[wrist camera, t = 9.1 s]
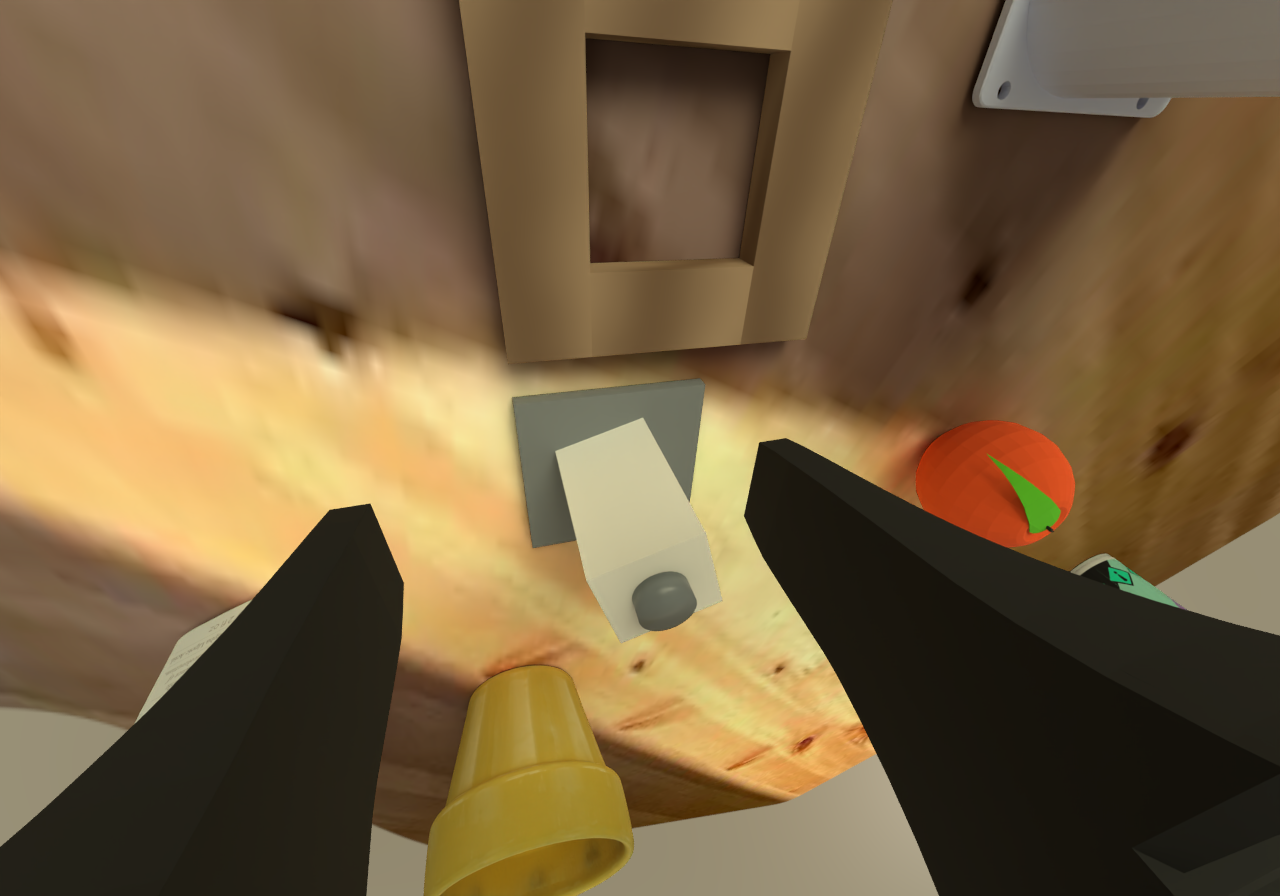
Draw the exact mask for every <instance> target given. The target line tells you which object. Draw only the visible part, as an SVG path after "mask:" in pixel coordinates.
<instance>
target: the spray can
mask: <svg viewBox="0 0 1280 896" xmlns="http://www.w3.org/2000/svg"><path fill="white" fill-rule="evenodd" d="M1071 573H1074V574H1077V575H1080V576H1083V577H1086V578H1088V579H1091V580H1094V581H1097V582H1100V583H1103V584H1105V585H1108V586H1111V587H1114V588H1117V589H1120V590H1123V591H1126V592H1130V593H1133V594H1136V595H1139V596H1142V597H1145V598H1148V599H1151V600H1154V601H1158V602H1161V603H1164V604H1168V605H1171V606H1174V607H1178V608H1181V609H1185V608H1184V607H1182V606H1181V605H1180V604H1178V603H1177V602H1175V601H1174V600H1172V599H1171V598H1170V597H1168V596H1167V595H1165V594H1164V593H1163V592H1161V591H1160V590H1158V589H1157V588H1156V587H1154V586H1153V585H1151V584H1150V583H1148V582H1147V581H1146V580H1144V579H1143V578H1141V577H1140V576H1139V575H1137V574H1136V573H1134V572H1133V571H1131V570H1130V569H1129V568H1127V567H1126V566H1124V565H1123V564H1122V563H1120V562H1119V561H1117V560H1116V559H1115V558H1113V557H1111V556H1110V555H1108V554H1100V555H1097V556H1094V557H1092V558H1090V559H1088V560H1086V561H1084V562H1083V563H1081V564H1080V565H1078V566H1077V567H1076V568H1074V569H1073V570H1072V571H1071ZM1185 610H1187V609H1185Z"/></svg>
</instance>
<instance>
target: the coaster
mask: <svg viewBox="0 0 1280 896" xmlns="http://www.w3.org/2000/svg"><path fill="white" fill-rule="evenodd" d="M704 391H705V384H704V383H703V381H702V380H701V379H700V378H699V379H690V380H680V381H670V382H660V383H650V384H640V385H630V386H620V387H611V388H601V389H591V390H581V391H571V392H561V393H551V394H542V395H532V396H522V397H512V398H513V406H514V413H515V420H516V428H517V435H518V443H519V450H520V458H521V465H522V472H523V480H524V487H525V495H526V502H527V510H528V517H529V524H530V532H531V539H532V547H533V548H536V547H542V546H547V545H553V544H558V543H564V542H570V541H575V540H576V536H575V531H574V527H573V523H572V519H571V515H570V511H569V507H568V502H567V498H566V494H565V490H564V486H563V482H562V477H561V473H560V469H559V465H558V461H557V457H556V453H555V451H557V450H560V449H562V448H565V447H567V446H570V445H573V444H575V443H578V442H580V441H583V440H586V439H588V438H591V437H593V436H596V435H599V434H601V433H604V432H607V431H609V430H612V429H614V428H617V427H620V426H622V425H625V424H627V423H630V422H633V421H635V420H638V419H640V418H644V420H645V422H646V424H647V426H648V428H649V429H650V431H651V433H652V435H653V437H654V439H655V440H656V442H657V444H658V446H659V448H660V450H661V451H662V453H663V455H664V457H665V459H666V461H667V462H668V464H669V466H670V468H671V470H672V472H673V473H674V475H675V477H676V479H677V481H678V483H679V484H680V486H681V488H682V490H683V492H684V493H685V495H686V497H687V499H688V501H689V503H690V496H691V488H692V481H693V473H694V466H695V458H696V451H697V443H698V436H699V428H700V421H701V413H702V406H703V398H704Z"/></svg>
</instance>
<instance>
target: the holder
mask: <svg viewBox="0 0 1280 896" xmlns="http://www.w3.org/2000/svg"><path fill="white" fill-rule="evenodd" d="M892 2H893V0H459V5H460V12H461V20H462V27H463V34H464V42H465V49H466V57H467V64H468V72H469V79H470V86H471V94H472V101H473V109H474V116H475V123H476V131H477V138H478V146H479V153H480V161H481V168H482V175H483V183H484V190H485V198H486V205H487V213H488V220H489V227H490V235H491V242H492V250H493V257H494V265H495V272H496V279H497V287H498V294H499V302H500V309H501V317H502V324H503V331H504V339H505V346H506V354H507V361H508V364H515V363H527V362H539V361H551V360H563V359H575V358H587V357H598V356H610V355H622V354H634V353H646V352H658V351H670V350H682V349H694V348H705V347H717V346H729V345H741V344H753V343H765V342H777V341H789V340H801V339H806V337H807V333H808V329H809V325H810V321H811V318H812V314H813V310H814V306H815V302H816V298H817V294H818V290H819V286H820V282H821V279H822V275H823V271H824V267H825V263H826V259H827V255H828V251H829V247H830V243H831V240H832V236H833V232H834V228H835V224H836V220H837V216H838V212H839V208H840V204H841V201H842V197H843V193H844V189H845V185H846V181H847V177H848V173H849V169H850V165H851V162H852V158H853V154H854V150H855V146H856V142H857V138H858V134H859V130H860V126H861V123H862V119H863V115H864V111H865V107H866V103H867V99H868V95H869V91H870V87H871V84H872V80H873V76H874V72H875V68H876V64H877V60H878V56H879V52H880V48H881V45H882V41H883V37H884V33H885V29H886V25H887V21H888V17H889V13H890V9H891V6H892ZM585 38H589V39H601V40H613V41H624V42H636V43H648V44H659V45H671V46H683V47H694V48H706V49H718V50H729V51H741V52H753V53H765V54H770V61H769V67H768V74H767V80H766V87H765V93H764V100H763V106H762V113H761V119H760V126H759V132H758V139H757V145H756V152H755V158H754V165H753V171H752V178H751V184H750V191H749V197H748V204H747V210H746V217H745V223H744V230H743V236H742V243H741V249H740V256H739V258H728V259H699V260H670V261H640V262H611V263H590V238H589V191H588V145H587V99H586V53H585Z"/></svg>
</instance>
